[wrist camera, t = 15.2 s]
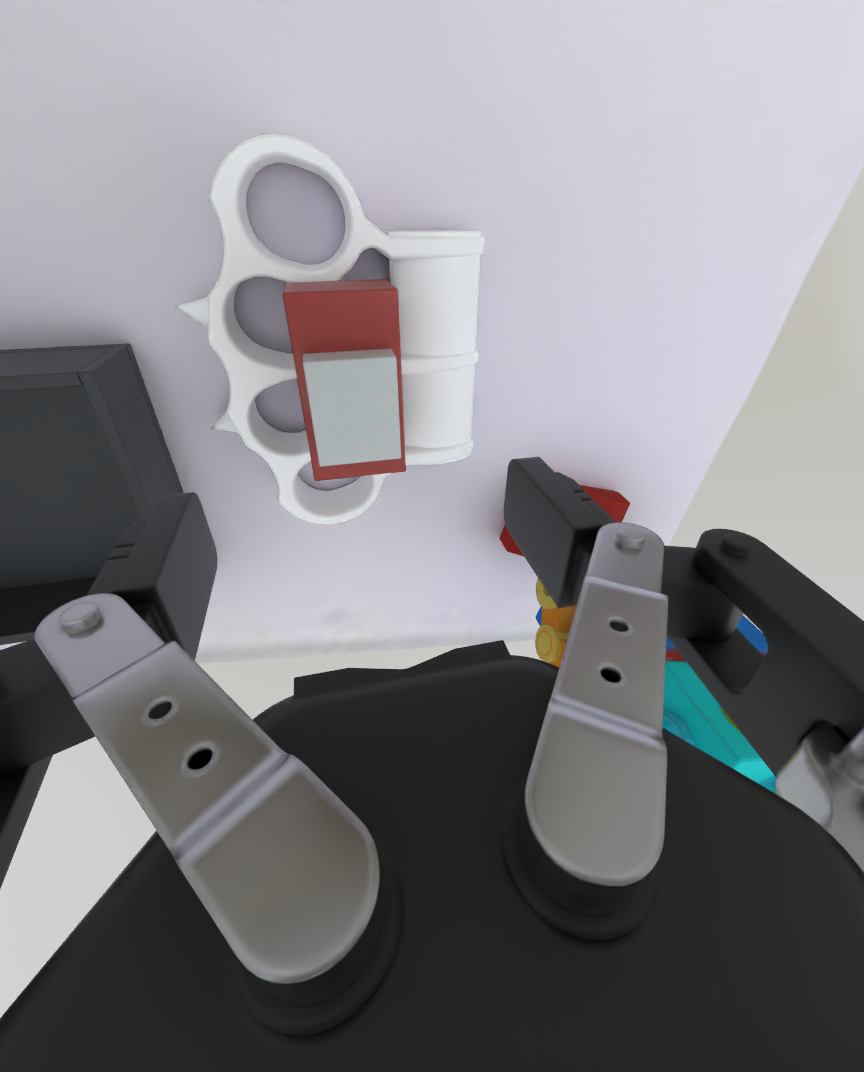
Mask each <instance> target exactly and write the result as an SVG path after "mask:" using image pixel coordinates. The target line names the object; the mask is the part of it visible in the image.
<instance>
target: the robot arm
mask: <svg viewBox="0 0 864 1072" xmlns="http://www.w3.org/2000/svg"><path fill="white" fill-rule="evenodd" d="M504 520H505V525H506V528H507V530H508V532H509V533H510V535H511V536H512V538H513V540H514V541H515V543H516V544H517V546H518V547H519V549H520V550H521V552H522V553H523V555H524V557H525V558H526V560H527V561H528V563H529V564H530V566H531V567H532V569H533V570H534V572H535V574H536V575H537V577H538V578H539V580H540V581H541V583H542V584H543V586H544V588H545V589H546V591H547V592H548V594H549V595H550V597H551V598H552V600H553V601H554V603H555V605H556V606H557V608H564V607H570V606H576V610H575V614H574V617H573V621H572V624H571V628H570V631H569V635H568V639H567V642H566V646H565V649H564V653H563V656H562V660H561V663H560V667H557V666H555V665H553V664H550V663H547V662H544V661H541V660H538V659H534V658H529V657H523V656H515V655H514V656H513V655H510V654H509V652H508V650H507V647H506V645H505V643H504V641H503V640H501V641H495V642H490V643H484V644H479V645H473V646H468V647H463V648H457V649H454V650H451V651H449V652H446V653H444V654H441V655H439V656H437V657H434V658H432V659H430V660H427V661H425V662H422V663H420V664H418V665H415V666H413V667H410V668H407V669H368V668H346V669H340V670H335V671H329V672H324V673H318V674H312V675H307V676H302V677H296V678H294V695H293V696H291V697H288V698H286V699H284V700H282V701H280V702H278V703H277V704H275V705H273V706H271V707H270V708H268V709H267V710H265V711H264V712H262V713H261V714H259V715H258V716H257V717H256V718H254V719H253V720H252V719H251V718H250V717H249V716H248V715H247V714H246V713H245V712H244V711H243V710H242V709H241V708H240V707H239V706H238V705H237V704H236V703H235V702H234V701H233V700H232V699H231V698H230V697H229V696H228V695H227V694H226V693H225V692H224V690H222V688H221V687H219V685H218V684H217V683H215V681H214V680H213V679H212V678H211V677H210V676H209V675H208V674H207V673H206V672H205V671H204V670H203V669H202V668H201V667H200V666H199V665H198V664H197V663H196V662H195V658H196V654H197V649H198V645H199V641H200V637H201V633H202V629H203V624H204V620H205V616H206V612H207V608H208V604H209V600H210V595H211V591H212V587H213V583H214V579H215V575H216V570H217V553H216V548H215V544H214V541H213V538H212V535H211V532H210V529H209V526H208V523H207V520H206V517H205V514H204V511H203V508H202V505H201V502H200V500H199V498H198V496H197V494H196V493H194V492H192V493H182V494H173V495H163V496H160V497H159V498H158V500H157V502H156V504H155V506H154V508H153V510H152V512H151V514H150V515H149V517H148V518H140V519H138V520H137V521H135V522H134V523H133V524H132V525H130V526H129V527H128V528H127V529H125V530H124V531H123V532H122V534H121V535H120V537H119V539H118V541H117V542H116V544H115V549H113V550H112V551H111V553H110V555H109V557H108V561H106V562H105V564H104V565H103V567H102V569H101V571H100V573H99V574H98V576H97V578H96V580H95V581H94V583H93V585H92V587H91V588H90V590H89V592H88V594H87V596H85V597H81V598H78V599H75V600H73V601H71V602H68V603H66V604H64V605H62V606H61V607H59V608H57V609H56V610H54V611H53V612H52V613H50V614H49V615H48V616H47V617H46V618H44V619H43V621H42V622H41V623H40V624H39V626H38V627H37V629H36V632H35V638H34V639H32V640H29V641H26V642H23V643H20V644H17V645H14V646H11V647H9V648H6V649H3V650H0V888H1V886H2V883H3V881H4V878H5V875H6V873H7V870H8V868H9V865H10V863H11V860H12V857H13V855H14V853H15V850H16V847H17V845H18V842H19V840H20V837H21V835H22V832H23V829H24V827H25V825H26V822H27V819H28V817H29V814H30V812H31V809H32V806H33V804H34V802H35V799H36V797H37V794H38V791H39V788H40V786H41V784H42V781H43V779H44V776H45V774H46V771H47V769H48V766H49V763H50V761H51V758H52V756H53V754H56V753H58V752H60V751H63V750H65V749H67V748H70V747H72V746H74V745H77V744H79V743H81V742H84V741H86V740H88V739H90V738H93V737H95V736H96V738H97V739H98V741H99V742H100V744H101V745H102V747H103V748H104V750H105V752H106V753H107V755H108V756H109V758H110V759H111V761H112V762H113V764H114V765H115V767H116V768H117V770H118V771H119V773H120V775H121V776H122V778H123V779H124V781H125V782H126V784H127V785H128V787H129V789H130V790H131V792H132V793H133V795H134V796H135V798H136V799H137V801H138V802H139V804H140V805H141V807H142V809H143V810H144V811H145V813H146V815H147V816H148V818H149V819H150V821H151V822H152V824H153V825H154V827H155V828H156V830H157V831H156V832H155V833H154V834H153V835H152V836H151V838H150V839H149V840H148V841H147V842H146V844H145V845H144V846H143V847H142V848H141V850H140V851H139V852H138V853H137V855H136V856H135V857H134V858H133V859H132V860H131V862H130V863H129V864H128V865H127V867H126V868H125V869H124V870H123V871H122V873H121V874H120V875H119V876H118V877H117V879H116V880H115V881H114V882H113V883H112V885H111V886H110V887H109V888H108V889H107V891H106V892H105V893H104V894H103V895H102V897H101V898H100V899H99V900H98V901H97V903H96V904H95V905H94V906H93V908H92V909H91V910H90V911H89V912H88V913H87V915H86V916H85V917H84V918H83V919H82V921H81V922H80V923H79V924H78V925H77V927H76V928H75V929H74V931H72V933H71V934H70V935H69V937H68V938H67V939H66V940H65V941H64V942H63V944H62V945H61V946H60V947H59V948H58V949H57V951H56V952H55V953H54V954H53V955H52V957H51V958H50V959H49V960H48V961H47V963H46V964H45V965H44V966H43V967H42V969H41V970H40V971H39V972H38V974H37V975H36V976H35V977H34V978H33V980H32V981H31V982H30V983H29V985H27V987H26V988H25V989H24V990H23V991H22V993H21V994H20V995H19V996H18V997H17V999H16V1000H15V1001H14V1002H13V1003H12V1005H11V1006H10V1007H9V1008H8V1010H7V1011H6V1012H5V1013H4V1014H3V1016H2V1017H1V1018H0V1072H864V621H863V620H861V619H860V618H859V617H858V616H856V615H855V614H854V613H852V612H851V611H850V610H849V609H847V608H846V607H845V606H843V605H842V604H841V603H840V602H838V601H837V600H836V599H834V598H833V597H832V596H831V595H829V594H828V593H827V592H825V591H824V590H823V589H821V588H820V587H819V586H818V585H816V584H815V583H814V582H813V581H811V580H810V579H809V578H807V577H806V576H805V575H804V574H802V573H801V572H800V571H798V570H797V569H796V568H794V567H793V566H792V565H791V564H789V563H788V562H787V561H786V560H784V559H783V558H782V557H780V556H779V555H778V554H776V553H775V552H774V551H773V550H771V549H770V548H769V547H768V546H766V545H765V544H764V543H762V542H760V541H759V540H758V539H756V538H754V537H752V536H750V535H747V534H744V533H741V532H738V531H734V530H728V529H712V530H708V531H705V532H704V533H703V534H702V535H701V537H700V539H699V542H698V544H697V547H696V548H689V547H675V546H664V543H663V541H662V540H661V538H660V537H659V536H658V535H657V534H655V533H654V532H652V531H651V530H649V529H647V528H645V527H642V526H639V525H635V524H631V523H622V522H620V523H617V522H616V521H615V520H614V519H613V518H612V517H611V516H610V515H609V514H608V513H607V512H606V511H605V510H604V509H603V508H602V507H601V506H600V505H599V504H598V503H597V502H596V501H595V500H592V497H591V496H590V495H589V494H588V493H587V492H584V489H582V488H581V487H580V486H579V485H578V484H577V483H576V482H575V481H574V480H573V479H571V478H569V477H567V476H565V475H563V474H561V473H559V472H554V471H553V470H552V469H551V468H550V467H549V466H548V465H547V464H546V463H545V462H544V461H543V460H542V459H541V458H540V457H531V458H522V459H513V460H511V461H510V463H509V466H508V472H507V482H506V492H505V502H504ZM743 613H744V614H745V615H746V616H747V617H748V618H749V619H750V620H751V621H752V622H753V623H754V624H755V625H756V626H757V627H758V628H759V629H760V630H761V631H762V633H763V634H764V636H765V638H766V641H767V645H768V652H767V655H766V657H764V656H763V655H762V654H761V653H760V652H759V651H758V650H757V649H756V648H755V647H754V646H753V645H752V644H751V643H750V642H749V641H748V639H747V638H746V637H745V636H744V635H743V634H742V633H741V632H740V631H739V630H738V629H737V628H736V627H737V625H738V623H739V621H740V619H741V617H742V615H743ZM667 637H668V639H669V640H670V641H671V643H672V644H673V645H674V647H675V648H676V649H677V650H678V652H679V653H680V654H681V656H682V657H683V658H684V659H685V661H686V662H687V663H688V665H689V666H690V667H691V668H692V670H693V671H694V672H695V674H696V675H697V676H698V678H699V679H700V680H701V681H702V683H703V684H704V685H705V687H706V688H707V689H708V690H709V692H710V693H711V694H712V696H713V697H714V698H715V699H716V701H717V702H718V703H719V705H720V706H721V707H722V708H723V710H724V711H725V712H726V714H727V715H728V716H729V718H730V719H731V720H732V721H733V723H734V724H735V725H736V727H737V728H738V729H739V730H740V732H741V733H742V734H743V736H744V737H745V738H746V739H747V741H748V742H749V743H750V745H751V746H752V747H753V748H754V750H755V751H756V752H757V754H758V755H759V756H760V758H761V759H762V760H763V761H764V763H765V764H766V765H767V767H768V768H769V769H770V770H771V772H772V773H773V774H774V776H775V777H776V787H777V791H778V794H779V795H777V794H775V793H774V792H772V791H770V790H769V789H767V788H765V787H764V786H762V785H760V784H758V783H757V782H755V781H753V780H752V779H750V778H748V777H746V776H745V775H743V774H741V773H740V772H738V771H736V770H735V769H733V768H731V767H729V766H728V765H726V764H724V763H723V762H721V761H719V760H717V759H716V758H714V757H712V756H711V755H709V754H707V753H706V752H704V751H702V750H700V749H699V748H697V747H695V746H694V745H692V744H690V743H688V742H687V741H685V740H683V739H682V738H680V737H678V736H676V735H675V734H673V733H671V732H670V731H668V730H666V729H665V728H663V727H662V720H663V700H664V679H665V658H666V638H667Z"/></svg>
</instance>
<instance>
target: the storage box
mask: <svg viewBox="0 0 864 1072" xmlns="http://www.w3.org/2000/svg"><path fill="white" fill-rule="evenodd" d="M182 493H183V490H182V488H181V485H180V482H179V479H178V477H177V474H176V471H175V468H174V465H173V463H172V460H171V457H170V454H169V451H168V449H167V446H166V443H165V440H164V438H163V435H162V432H161V429H160V426H159V424H158V421H157V418H156V415H155V412H154V410H153V407H152V404H151V401H150V399H149V396H148V393H147V390H146V387H145V385H144V382H143V379H142V376H141V373H140V371H139V368H138V365H137V362H136V359H135V357H134V354H133V351H132V348H131V346H130V344H115V345H95V346H75V347H55V348H36V349H16V350H0V645H4V644H10V643H17V642H24V641H29V640H32V639H34V638H35V632H36V629H37V627H38V626H39V624H40V623H41V622H42V621H43V619H44V618H46V617H47V616H48V615H49V614H50V613H52V612H53V611H54V610H56V609H57V608H59V607H61V606H62V605H64V604H66V603H68V602H71V601H73V600H75V599H78V598H81V597H85V596H87V594H88V592H89V590H90V588H91V587H92V585H93V583H94V581H95V580H96V578H97V576H98V574H99V573H100V571H101V569H102V567H103V565H104V564H105V562H106V561H108V557H109V555H110V553H111V551H112V550H113V549H115V544H116V542H117V541H118V539H119V537H120V535H121V534H122V532H123V531H124V530H125V529H127V528H128V527H129V526H130V525H132V524H133V523H134V522H135V521H137V520H138V519H140V518H148V517H149V515H150V514H151V512H152V510H153V508H154V506H155V504H156V502H157V500H158V498H159V497H160V496H163V495H173V494H182Z"/></svg>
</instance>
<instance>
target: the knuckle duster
mask: <svg viewBox="0 0 864 1072" xmlns="http://www.w3.org/2000/svg"><path fill="white" fill-rule="evenodd" d="M273 163H289V164H292V165H295V166H298V167H301V168H303V169H306V170H309V171H311V172H314V173H316V174H318V175H319V176H321V177H322V178H324V179H325V180H326V181H327V182H328V183H329V184H330V185H331V186H332V187H333V189H334V190H335V191H336V193H337V195H338V197H339V199H340V201H341V203H342V206H343V209H344V214H345V234H344V238H343V241H342V244H341V246H340V248H339V249H338V251H337V252H336V253H335V254H334V255H333V256H332V257H331V258H330V259H328V260H327V261H325V262H323V263H320V264H314V265H307V264H302V263H298V262H295V261H292V260H288V259H285V258H282V257H280V256H277V255H275V254H274V253H272V252H271V251H269V250H268V249H267V248H266V247H265V246H264V245H263V244H262V243H261V242H260V241H259V239H258V238H257V237H256V235H255V233H254V231H253V230H252V227H251V225H250V222H249V219H248V215H247V209H246V197H247V191H248V188H249V185H250V183H251V181H252V179H253V177H254V176H255V175H256V173H257V172H258V171H260V170H261V169H262V168H264V167H265V166H267V165H270V164H273ZM209 200H210V202H211V204H212V206H213V208H214V210H215V212H216V215H217V217H218V220H219V223H220V227H221V231H222V237H223V245H224V257H223V265H222V270H221V273H220V276H219V278H218V281H217V283H216V285H215V286H214V288H213V289H212V291H211V292H210V293H209V294H208V297H206V298H203V299H199V300H196V301H192V302H189V303H185V304H181V305H178V306H175V307H177V308H178V309H179V310H181V311H182V312H184V313H185V314H187V315H188V316H189V317H191V318H192V319H194V320H195V321H197V322H198V323H200V324H201V325H202V326H204V327H205V328H207V329H208V343H209V344H210V346H211V347H212V348H213V349H214V350H215V352H216V353H217V355H218V356H219V358H220V359H221V361H222V363H223V365H224V367H225V370H226V373H227V376H228V380H229V386H230V398H229V403H228V407H227V410H226V412H225V414H224V415H223V416H222V417H221V418H220V419H219V420H218V421H217V423H216V424H215V425H214V426H213V427H212V428H211V429H214V430H221V431H228V432H235V433H239V435H240V437H241V438H242V440H243V442H244V444H245V445H246V447H248V448H250V449H251V450H253V451H254V452H256V453H257V454H258V455H260V456H261V457H262V458H263V459H264V460H265V461H266V462H267V464H268V465H269V466H270V468H271V469H272V471H273V473H274V475H275V477H276V480H277V485H278V497H277V500H278V502H279V503H280V504H281V506H282V507H283V508H284V509H286V510H287V511H288V512H289V513H291V514H292V515H294V516H296V517H297V518H299V519H302V520H304V521H307V522H311V523H315V524H338V523H342V522H346V521H349V520H351V519H353V518H355V517H357V516H359V515H360V514H362V513H363V512H365V511H366V510H367V509H368V508H369V507H370V506H371V505H372V504H373V502H374V501H375V499H376V498H377V496H378V494H379V492H380V489H381V486H382V482H383V480H384V478H386V477H387V476H388V475H389V474H391V473H386V474H377V475H367V476H361V477H360V478H359V479H358V480H356V481H355V482H353V483H351V484H349V485H346V486H343V487H341V488H338V489H335V490H329V491H323V490H318V489H314V488H312V487H310V486H308V485H307V484H305V483H304V482H303V481H302V480H301V478H300V477H299V475H298V474H297V473H298V472H299V470H300V469H301V468H302V467H303V466H304V465H305V464H307V463H308V462H310V461H311V457H310V451H309V445H308V439H307V433H306V430H305V431H302V432H298V433H287V432H282V431H279V430H277V429H274V428H273V427H271V426H270V425H268V424H267V423H266V422H265V421H264V420H263V419H262V417H261V416H260V415H259V413H258V411H257V408H256V405H255V398H256V396H257V395H258V394H259V393H260V392H262V391H263V390H265V389H266V388H269V387H271V386H274V385H276V384H279V383H281V382H284V381H287V380H291V379H297V375H296V369H295V364H294V358H293V353H285V352H281V351H276V350H272V349H268V348H265V347H262V346H260V345H258V344H257V343H255V342H254V341H252V340H251V339H250V338H249V337H248V336H247V335H246V334H245V333H244V332H243V330H242V329H241V327H240V326H239V324H238V321H237V319H236V316H235V312H234V296H235V292H236V290H237V287H238V286H239V284H240V283H241V282H243V281H245V280H247V279H249V278H253V277H261V276H262V277H271V278H275V279H278V280H282V281H285V282H288V283H290V282H320V281H340V279H341V278H342V277H343V276H345V275H346V274H347V273H348V272H349V271H350V270H351V268H352V267H353V266H354V264H355V263H356V261H357V259H358V257H359V255H360V254H361V253H362V252H363V251H364V250H366V249H368V248H375V249H376V250H377V251H379V252H380V253H381V254H382V255H384V256H386V257H387V258H389V265H390V283H391V284H392V285H393V286H395V287H396V288H397V289H398V301H399V324H400V347H401V370H402V393H403V415H404V438H405V461H406V465H416V464H422V465H432V464H444V463H450V462H454V461H458V460H461V459H464V458H466V457H468V456H470V454H471V451H473V448H474V441H473V439H472V419H473V399H474V379H475V364H477V363H478V351H477V350H476V337H477V317H478V296H479V275H480V255H481V254H483V252H484V237H483V236H481V234H482V231H481V230H409V231H388V234H385V233H383V232H382V231H381V230H380V229H378V228H377V227H376V226H375V225H374V224H372V223H371V222H370V221H369V220H367V219H366V217H365V216H364V214H363V211H362V208H361V205H360V202H359V199H358V197H357V194H356V192H355V190H354V188H353V186H352V184H351V183H350V181H349V179H348V178H347V176H346V175H345V173H344V172H343V171H342V170H341V168H340V167H339V166H338V165H337V164H336V163H335V162H334V160H332V159H331V158H330V157H329V156H328V155H327V154H326V153H325V152H323V151H322V150H321V149H319V148H318V147H316V146H315V145H313V144H311V143H309V142H307V141H305V140H303V139H300V138H297V137H294V136H290V135H285V134H264V135H259V136H255V137H253V138H250V139H248V140H246V141H244V142H242V143H240V144H239V145H238V146H236V147H235V148H234V149H233V150H232V151H231V152H230V153H229V154H228V155H227V156H226V157H225V158H224V160H223V161H222V163H221V164H220V166H219V168H218V169H217V172H216V174H215V176H214V179H213V182H212V185H211V189H210V195H209Z"/></svg>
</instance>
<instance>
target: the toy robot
mask: <svg viewBox="0 0 864 1072" xmlns="http://www.w3.org/2000/svg"><path fill="white" fill-rule="evenodd" d="M580 487H581V488H582V489H584V492H587V493H588V494H589V495H590V496H591V497H592V500H595V501H596V502H597V503H598V504H599V505H600V506H601V507H602V508H603V509H604V510H605V511H606V512H607V513H608V514H609V515H610V516H611V517H612V518H613V519H614V520H615V521H616V522H617V523H620V522H622V520H623V518H624V516H625V514H626V511H627V509H628V507H629V505H630V502H628V501H627V500H626V499H625V498H624V497H623V496H622V495H621V494H620V493H618V492H614V491H608V490H602V489H596V488H591V487H585V486H580ZM500 540H501V542H502V543H503V545H504V547H505V549H506V550H507V551H508V552H511V553H515V554H518V555H521V556H524V555H523V553H522V552H521V550H520V549H519V547H518V546H517V544H516V543H515V541H514V540H513V538H512V536H511V535H510V533H509V532H508V530H507V528H506V525H505V527H504V530H503V532H502V534H501V537H500ZM536 595H537V599H538V602H539V604H540V605H541V607H540V609H539V611H538V613H537V615H536V619H537V621H538V623H539V625H540V628H539V629H538V631H537V634H536V640H535V644H536V651H537V654H538V656H539V658H540V659H541V660H542V661H545V662H548V663H550V664H553V665H555V666H557V667H560V663H561V660H562V656H563V653H564V649H565V646H566V642H567V639H568V635H569V631H570V628H571V624H572V621H573V617H574V614H575V610H576V606H570V607H564V608H557V606H556V605H555V603H554V601H553V600H552V598H551V597H550V595H549V594H548V592H547V591H546V589H545V588H544V586H543V584H542V583H541V581H540V580H539V578H538V579H537V584H536ZM736 628H737V629H738V630H739V631H740V632H741V633H742V634H743V635H744V636H745V637H746V638H747V639H748V641H749V642H750V643H751V644H752V645H753V646H754V647H755V648H756V649H757V650H758V651H759V652H760V653H761V654H762V655H763V656H764V657H766V655H767V652H768V645H767V641H766V638H765V636H764V634H763V633H762V632H761V631H760V630H758V629H757V628H756V627H755V626H754V625H753V624H752V623H751V622H750V621H749V620H748V619H747V618H745V617H744V616H743V615H742V617H741V619H740V621H739V623H738V625H737V627H736ZM662 727H663V728H665V729H666V730H668V731H670V732H671V733H673V734H675V735H676V736H678V737H680V738H682V739H683V740H685V741H687V742H688V743H690V744H692V745H694V746H695V747H697V748H699V749H700V750H702V751H704V752H706V753H707V754H709V755H711V756H712V757H714V758H716V759H717V760H719V761H721V762H723V763H724V764H726V765H728V766H729V767H731V768H733V769H735V770H736V771H738V772H740V773H741V774H743V775H745V776H746V777H748V778H750V779H752V780H753V781H755V782H757V783H758V784H760V785H762V786H764V787H765V788H767V789H769V790H770V791H772V792H774V793H775V794H777V795H779V794H778V791H777V787H776V777H775V776H774V774H773V773H772V772H771V770H770V769H769V768H768V767H767V765H766V764H765V763H764V761H763V760H762V759H761V758H760V756H759V755H758V754H757V752H756V751H755V750H754V748H753V747H752V746H751V745H750V743H749V742H748V741H747V739H746V738H745V737H744V736H743V734H742V733H741V732H740V730H739V729H738V728H737V727H736V725H735V724H734V723H733V721H732V720H731V719H730V718H729V716H728V715H727V714H726V712H725V711H724V710H723V708H722V707H721V706H720V705H719V703H718V702H717V701H716V699H715V698H714V697H713V696H712V694H711V693H710V692H709V690H708V689H707V688H706V687H705V685H704V684H703V683H702V681H701V680H700V679H699V678H698V676H697V675H696V674H695V672H694V671H693V670H692V668H691V667H690V666H689V665H688V663H687V662H686V661H685V659H684V658H683V657H682V656H681V654H680V653H679V652H678V650H677V649H676V648H675V647H674V645H673V644H672V643H671V641H670V640H669V639H668V637H667V638H666V658H665V679H664V700H663V720H662Z"/></svg>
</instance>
